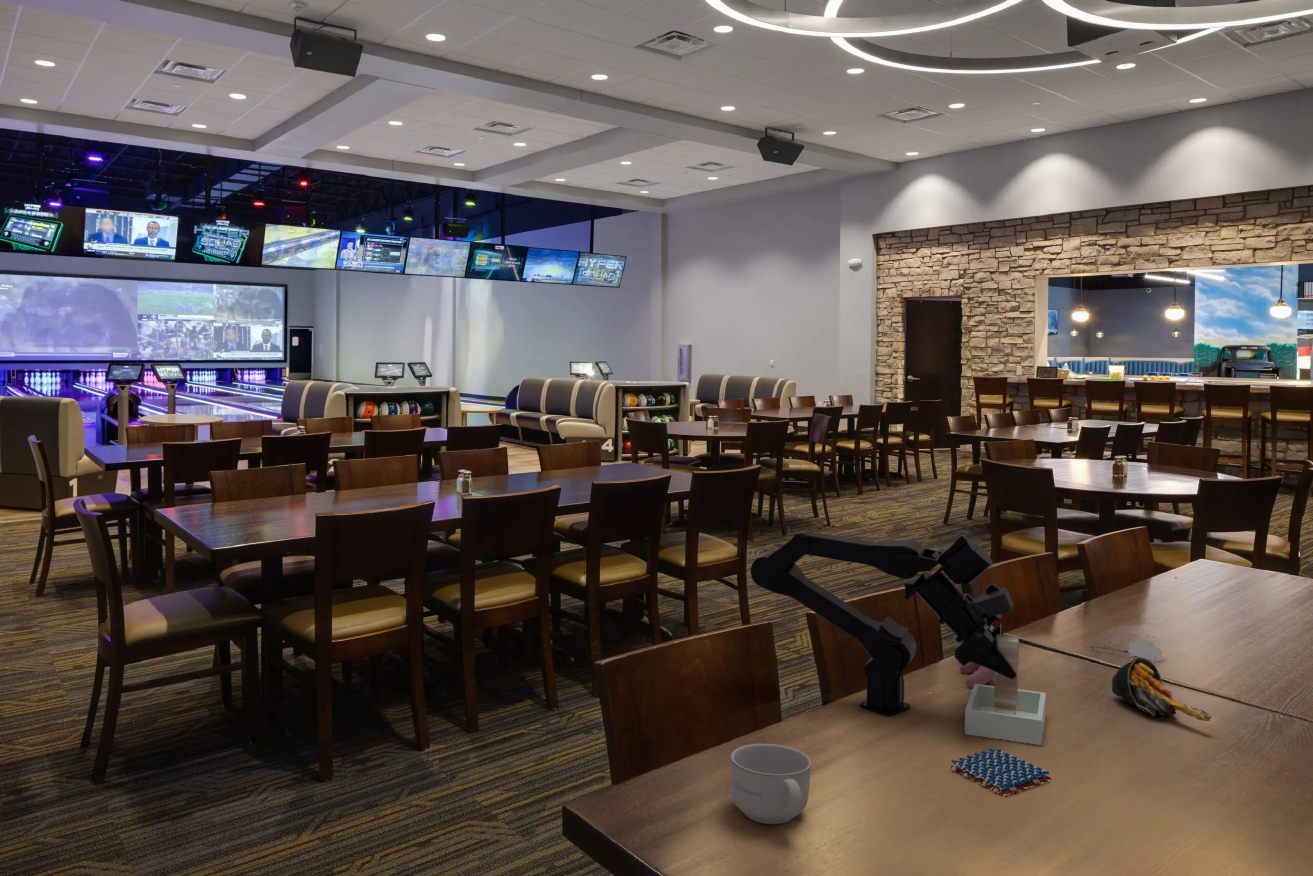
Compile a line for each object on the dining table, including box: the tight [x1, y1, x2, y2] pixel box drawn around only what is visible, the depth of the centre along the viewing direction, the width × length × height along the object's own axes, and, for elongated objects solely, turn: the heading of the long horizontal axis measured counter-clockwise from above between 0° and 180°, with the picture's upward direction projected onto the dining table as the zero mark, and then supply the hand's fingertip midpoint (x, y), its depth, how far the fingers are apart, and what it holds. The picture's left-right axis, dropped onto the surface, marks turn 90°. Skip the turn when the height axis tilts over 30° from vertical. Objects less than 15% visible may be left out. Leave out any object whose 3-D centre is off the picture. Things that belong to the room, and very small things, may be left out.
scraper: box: [994, 633, 1020, 715], centre depth 153 cm, size 8×3×13 cm, turn 155°
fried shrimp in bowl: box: [1111, 657, 1212, 722], centre depth 157 cm, size 9×11×18 cm
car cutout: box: [1127, 638, 1163, 664], centre depth 190 cm, size 15×7×4 cm, turn 40°
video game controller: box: [959, 662, 995, 689], centre depth 175 cm, size 10×5×7 cm, turn 169°
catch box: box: [964, 684, 1047, 745], centre depth 153 cm, size 14×12×4 cm
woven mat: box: [950, 748, 1052, 794], centre depth 134 cm, size 10×11×2 cm
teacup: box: [730, 743, 812, 825], centre depth 122 cm, size 14×11×8 cm
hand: (1015, 673), depth 152 cm, fingers closed on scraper, 3 cm apart
